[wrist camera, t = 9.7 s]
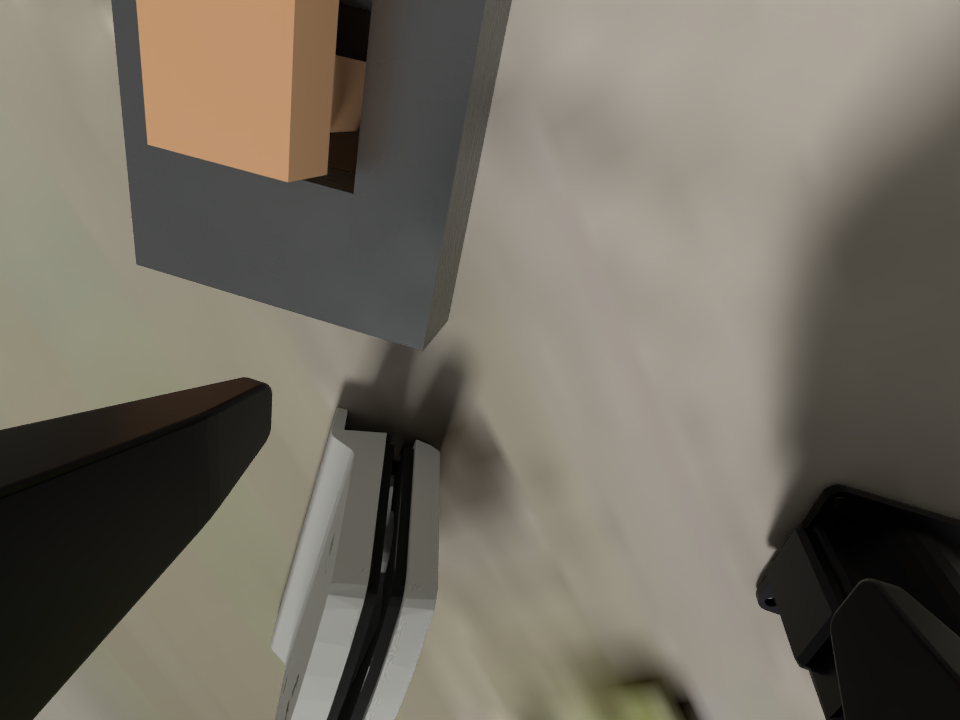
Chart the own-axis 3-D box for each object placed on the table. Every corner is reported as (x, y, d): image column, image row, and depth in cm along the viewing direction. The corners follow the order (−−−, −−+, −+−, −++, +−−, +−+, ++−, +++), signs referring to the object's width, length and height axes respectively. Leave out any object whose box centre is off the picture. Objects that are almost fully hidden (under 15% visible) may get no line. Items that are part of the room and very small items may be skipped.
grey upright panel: (338, 400, 23) (290, 610, 15) (440, 423, 24) (451, 629, 16) (276, 620, 31) (221, 840, 22) (355, 629, 32) (332, 842, 24)
